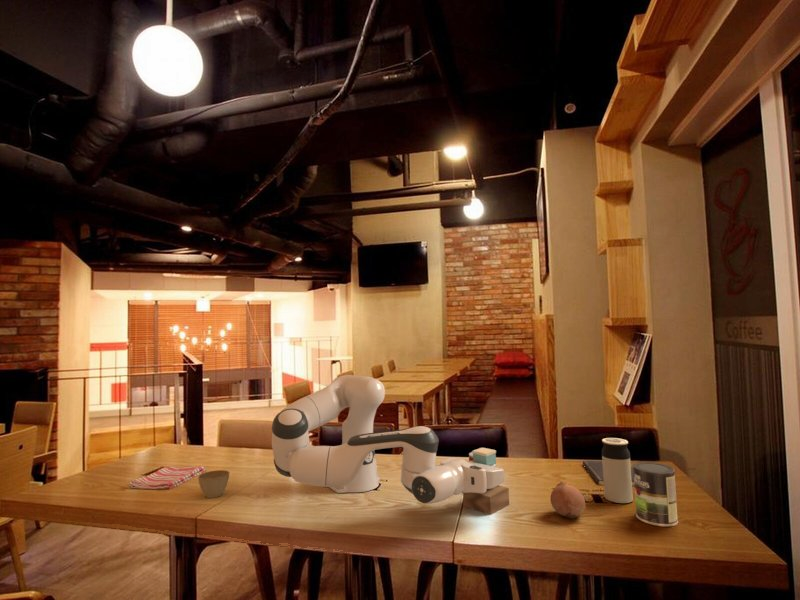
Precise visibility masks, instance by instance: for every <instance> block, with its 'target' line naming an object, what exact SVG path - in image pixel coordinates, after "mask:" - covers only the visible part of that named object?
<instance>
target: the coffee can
mask: <svg viewBox="0 0 800 600" xmlns="http://www.w3.org/2000/svg"><path fill="white" fill-rule="evenodd" d="M632 467H633V469H634V483H635V486H634V496H635V497H634V498H635V516H636V518H637V519H638V520H640V521H641V522H643V523H645V524H648V525H651V526H656V527H661V528H662V527H664V528H665V527H666V528H667V527H668V528H669V527H675V526H677V525H678V524H679V520H678V508H677V507H678V504H677V492H676V491H677V490H676V489H677V488H676V476H675V473H676V470H675V468H674V467H672V466H670V465H667V464H663V463H659V462H652V461H651V462H650V461H649V462H647V461H640V462H635V463H633V464H632Z"/></svg>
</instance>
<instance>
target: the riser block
mask: <svg viewBox="0 0 800 600" xmlns="http://www.w3.org/2000/svg"><path fill="white" fill-rule="evenodd" d="M462 498H463V499H462V500H463V507H467V508H469V509H473V510H475V511H478V512H481V513H484V514H487V513H488V514H487V515H491V516H492V515H493V514H495V513H497V512H498V511H501V510H503V509H504V508H506V507H508V506H510V488H509V487H506V486H503V485H498V486H496V487H494V488H491V489H486V492H485V493H472V492H468V493H462Z"/></svg>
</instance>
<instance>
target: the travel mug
mask: <svg viewBox="0 0 800 600" xmlns="http://www.w3.org/2000/svg"><path fill="white" fill-rule="evenodd" d="M601 442H602V443H603V444H602V445H603V447H602V449H601V459H602V460H601V461H602V463H603V479H604V485H603V491H604V492H603V494H604V498H605V499H606V500H608V501H610V502H612V503H615V504H629V503H631V502H633V501H634V497H633V486H632V479H631V466H632V465H631V452H630V450H629V449H628V444H629V441H628V440H627V439H625V438H624V439H623V438H618V437H606V438H602V439H601Z"/></svg>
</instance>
